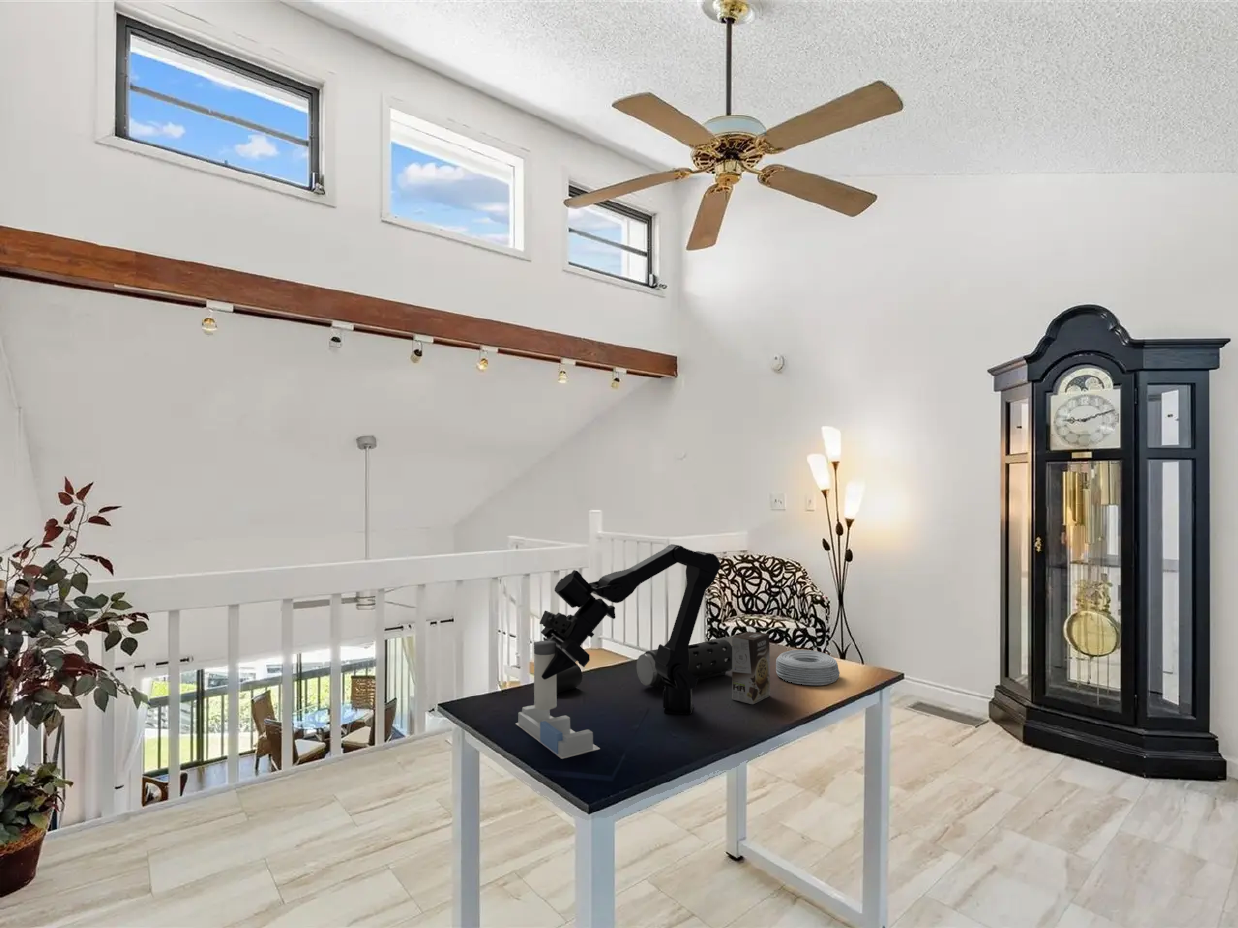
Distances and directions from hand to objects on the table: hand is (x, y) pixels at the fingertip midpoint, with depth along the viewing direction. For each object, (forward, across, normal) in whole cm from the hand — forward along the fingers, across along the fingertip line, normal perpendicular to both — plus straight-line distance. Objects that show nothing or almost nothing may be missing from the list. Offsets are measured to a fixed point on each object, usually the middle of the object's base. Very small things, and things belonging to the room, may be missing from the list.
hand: (539, 674), depth 150 cm
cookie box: (-31, 0, +50) cm, 58 cm away
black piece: (0, -26, +19) cm, 32 cm away
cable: (-48, -9, +67) cm, 83 cm away
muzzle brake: (-25, -19, +44) cm, 53 cm away
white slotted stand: (+8, +5, +11) cm, 14 cm away
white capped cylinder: (+4, 0, +6) cm, 7 cm away
